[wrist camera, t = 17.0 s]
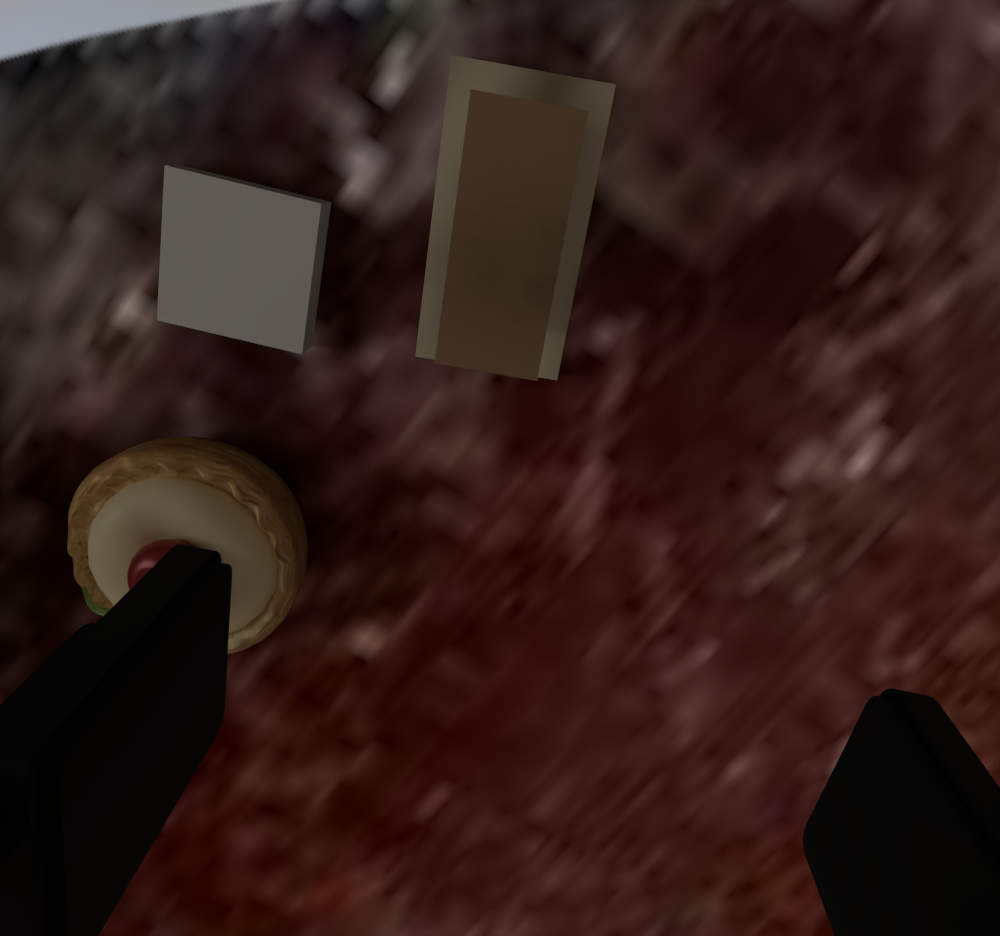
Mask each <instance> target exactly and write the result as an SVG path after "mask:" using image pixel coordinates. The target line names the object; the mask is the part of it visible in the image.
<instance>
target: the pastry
mask: <svg viewBox="0 0 1000 936" xmlns="http://www.w3.org/2000/svg"><path fill="white" fill-rule="evenodd" d="M68 525H69V530H68V543H67V550H68V554H69V555H70V556H71V557H72V558H73V565H74V577H75V579H76V581H77V583H78V584H79V585H80V586H81V588H82V591H83V594H84V598H85V601H86V603H87V605H88V606H89V608H90V609H91V610H92V611H93V612H94V613H96V614H98V615H102V616H104V615H105V614H106V613H107V612H108V611H109V610H110V609H111V608H112V607H113V606H114V605H115V604H116V603H117V602H118V601H119V600H120V599H121V598H122V597H123V596H124V595H125V594H126V593H127V592H128V591H129V590H130V589H131V588H132V587H133V586H134V585H135V584H136V583H137V582H138V581H139V580H140V579H141V578H142V577H143V576H144V575H145V574H146V573H147V572H148V571H149V570H150V569H151V568H152V567H153V566H154V565H155V564H156V563H157V562H158V561H159V560H160V559H161V558H162V557H163V556H164V555H165V554H166V553H167V552H168V551H169V550H170V549H171V548H173V547H174V546H175V545H177V544H183V545H188V546H193V547H198V548H203V549H208V550H213V551H218V552H219V553H220V555H221V560H222V563H225V564H229V565H231V568H232V587H231V604H230V622H229V640H228V654H231V653H235V652H238V651H241V650H244V649H247V648H249V647H251V646H252V645H254V644H256V643H258V642H260V641H262V640H263V639H264V638H266V637H267V636H268V635H269V634H270V633H271V632H273V631H274V630H275V629H276V628H277V626H278V625H279V624H280V623H281V622H282V621H283V620H284V619H285V617H286V615H287V613H288V612H289V610H290V608H291V606H292V604H293V602H294V600H295V598H296V595H297V593H298V591H299V589H300V587H301V585H302V583H303V580H304V577H305V571H306V565H307V552H308V547H307V536H306V530H305V524H304V519H303V516H302V513H301V510H300V507H299V505H298V503H297V501H296V499H295V497H294V495H293V494H292V492H291V490H290V489H289V488H288V486H287V485H286V484H285V482H284V481H283V480H282V478H281V477H280V476H279V475H277V474H276V473H275V472H274V471H273V470H272V469H271V468H270V467H269V466H268V465H266V464H265V463H264V462H262V461H261V460H260V459H258V458H257V457H255V456H254V455H252V454H250V453H248V452H246V451H244V450H242V449H240V448H237V447H235V446H232V445H229V444H227V443H224V442H220V441H215V440H211V439H206V438H195V437H175V438H166V439H157V440H153V441H149V442H145V443H142V444H139V445H137V446H134V447H131V448H129V449H127V450H125V451H123V452H121V453H119V454H118V455H116V456H114V457H112V458H110V459H108V460H106V461H105V462H103V463H102V464H100V465H99V466H97V467H96V468H94V469H93V470H92V471H91V472H90V473H89V474H88V475H87V476H86V478H85V479H84V480H83V481H82V483H81V484H80V486H79V487H78V489H77V490H76V492H75V494H74V497H73V500H72V502H71V505H70V509H69V514H68Z"/></svg>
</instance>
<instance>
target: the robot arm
mask: <svg viewBox="0 0 1000 936" xmlns="http://www.w3.org/2000/svg"><path fill="white" fill-rule="evenodd" d="M231 587H232V568H231V565H229V564H225V563H222V560H221V555H220V553H219V552H218V551H213V550H208V549H203V548H198V547H193V546H188V545H183V544H177V545H175V546H174V547H173V548H171V549H170V550H169V551H168V552H167V553H166V554H165V555H164V556H163V557H162V558H161V559H160V560H159V561H158V562H157V563H156V564H155V565H154V566H153V567H152V568H151V569H150V570H149V571H148V572H147V573H146V574H145V575H144V576H143V577H142V578H141V579H140V580H139V581H138V582H137V583H136V584H135V585H134V586H133V587H132V588H131V589H130V590H129V591H128V592H127V593H126V594H125V595H124V596H123V597H122V598H121V599H120V600H119V601H118V602H117V603H116V604H115V605H114V606H113V607H112V608H111V609H110V610H109V611H108V612H107V613H106V614H105V615H104V616H103V617H102V618H101V619H100V620H99V621H98V622H97V623H96V624H95V623H90V624H87V625H84V626H83V627H81V628H80V629H79V630H77V631H76V632H75V633H74V634H73V635H72V636H71V637H70V638H69V639H67V640H66V641H65V642H64V643H63V644H62V645H61V646H60V647H59V648H58V649H57V650H56V651H55V652H54V653H53V654H52V655H51V656H50V657H49V658H48V659H47V660H46V661H45V662H44V663H43V664H42V665H41V666H40V667H39V668H38V669H37V670H36V671H34V672H33V673H32V674H31V675H30V676H29V677H28V678H27V679H26V680H25V681H24V682H23V683H22V684H21V685H20V686H19V687H18V688H17V689H16V690H15V691H14V692H13V693H12V694H11V695H10V696H9V697H8V698H7V699H6V700H5V701H4V702H3V703H2V704H0V936H98V935H99V933H100V932H101V930H102V928H103V927H104V925H105V923H106V922H107V920H108V918H109V917H110V915H111V913H112V912H113V910H114V908H115V906H116V905H117V903H118V901H119V900H120V898H121V896H122V895H123V893H124V891H125V890H126V888H127V886H128V885H129V883H130V881H131V879H132V878H133V876H134V874H135V873H136V871H137V869H138V868H139V866H140V864H141V863H142V861H143V859H144V858H145V856H146V854H147V852H148V851H149V849H150V847H151V846H152V844H153V842H154V841H155V839H156V837H157V836H158V834H159V832H160V831H161V829H162V827H163V825H164V824H165V822H166V820H167V819H168V817H169V815H170V814H171V812H172V810H173V809H174V807H175V805H176V804H177V802H178V800H179V798H180V797H181V795H182V793H183V792H184V790H185V788H186V787H187V785H188V783H189V782H190V780H191V778H192V776H193V775H194V773H195V771H196V770H197V768H198V766H199V765H200V763H201V761H202V760H203V758H204V756H205V755H206V753H207V751H208V749H209V748H210V746H211V744H212V743H213V741H214V739H215V738H216V736H217V734H218V731H219V729H220V726H221V723H222V720H223V716H224V709H225V692H226V675H227V657H228V640H229V622H230V604H231ZM803 846H804V852H805V856H806V859H807V862H808V864H809V867H810V870H811V872H812V875H813V878H814V881H815V883H816V886H817V889H818V891H819V894H820V897H821V900H822V902H823V905H824V908H825V910H826V913H827V916H828V919H829V921H830V924H831V927H832V929H833V932H834V935H835V936H1000V788H999V786H998V785H997V783H996V782H995V781H994V779H993V778H992V777H991V775H990V774H989V772H988V771H987V770H986V768H985V767H984V765H983V764H982V763H981V761H980V760H979V759H978V757H977V756H976V754H975V753H974V752H973V750H972V749H971V747H970V746H969V745H968V743H967V742H966V741H965V739H964V738H963V736H962V735H961V734H960V732H959V731H958V729H957V728H956V727H955V725H954V724H953V723H952V721H951V720H950V718H949V717H948V716H947V714H946V713H945V711H944V710H943V709H942V707H941V706H940V705H939V703H938V702H937V701H936V700H935V699H934V698H932V697H929V696H926V695H921V694H916V693H911V692H907V691H902V690H897V689H886V690H885V691H883V692H882V693H881V694H880V696H873V697H872V698H870V699H869V700H868V702H867V703H866V705H865V707H864V709H863V711H862V713H861V715H860V717H859V719H858V721H857V724H856V726H855V728H854V730H853V732H852V734H851V736H850V738H849V740H848V742H847V744H846V746H845V748H844V750H843V752H842V754H841V756H840V758H839V760H838V762H837V764H836V766H835V768H834V770H833V772H832V774H831V776H830V778H829V780H828V782H827V784H826V786H825V788H824V790H823V792H822V794H821V796H820V798H819V800H818V802H817V804H816V806H815V808H814V810H813V812H812V814H811V816H810V818H809V820H808V822H807V824H806V827H805V830H804V835H803Z"/></svg>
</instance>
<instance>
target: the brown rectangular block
mask: <svg viewBox="0 0 1000 936" xmlns="http://www.w3.org/2000/svg"><path fill="white" fill-rule="evenodd" d="M587 117H588V110H582V109H577V108H571V107H566V106H560V105H555V104H549V103H544V102H538V101H533V100H527V99H522V98H516V97H511V96H505V95H500V94H494V93H489V92H483V91H478V90H472V89H471V91H470V99H469V107H468V114H467V122H466V129H465V137H464V144H463V152H462V159H461V167H460V174H459V182H458V189H457V197H456V205H455V212H454V220H453V227H452V235H451V242H450V250H449V257H448V265H447V272H446V280H445V287H444V295H443V302H442V310H441V318H440V325H439V333H438V340H437V348H436V355H435V363H436V364H442V365H448V366H454V367H460V368H466V369H471V370H477V371H483V372H489V373H495V374H501V375H506V376H512V377H518V378H524V379H530V380H536V381H537V379H538V373H539V368H540V363H541V358H542V352H543V347H544V342H545V337H546V331H547V326H548V321H549V316H550V311H551V305H552V300H553V295H554V290H555V284H556V279H557V274H558V269H559V263H560V258H561V253H562V248H563V242H564V237H565V232H566V227H567V221H568V216H569V211H570V206H571V200H572V195H573V190H574V185H575V180H576V174H577V169H578V164H579V159H580V153H581V148H582V143H583V138H584V132H585V127H586V122H587Z"/></svg>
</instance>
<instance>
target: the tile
mask: <svg viewBox="0 0 1000 936" xmlns="http://www.w3.org/2000/svg"><path fill="white" fill-rule="evenodd" d="M330 208H331V202H329V201H325V200H321V199H317V198H313V197H309V196H305V195H301V194H296V193H292V192H288V191H284V190H280V189H276V188H272V187H268V186H264V185H260V184H256V183H252V182H248V181H244V180H239V179H235V178H231V177H227V176H223V175H219V174H215V173H211V172H207V171H203V170H199V169H195V168H191V167H187V166H182V165H165V168H164V188H163V209H162V229H161V250H160V270H159V291H158V311H157V320H159V321H163V322H167V323H171V324H176V325H180V326H184V327H188V328H193V329H197V330H201V331H205V332H210V333H214V334H218V335H222V336H227V337H231V338H235V339H239V340H244V341H248V342H252V343H256V344H261V345H265V346H269V347H274V348H278V349H282V350H286V351H291V352H295V353H299V354H303V353H304V352H305V351H307V350H308V349H309V348H310V347H312V344H313V337H314V329H315V321H316V314H317V306H318V299H319V291H320V284H321V276H322V268H323V261H324V253H325V246H326V238H327V231H328V223H329V216H330Z"/></svg>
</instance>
